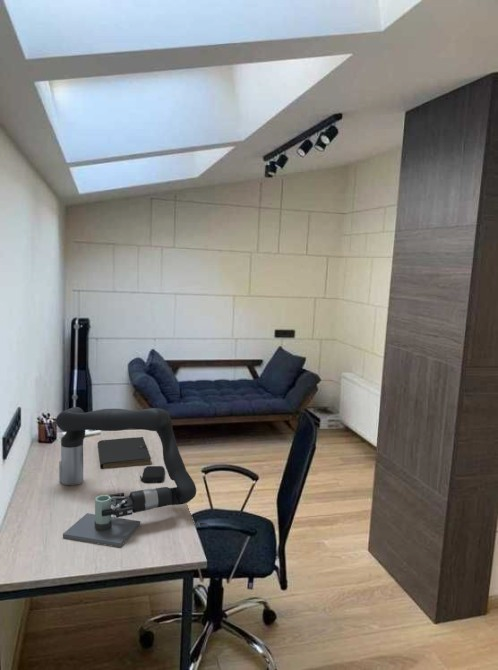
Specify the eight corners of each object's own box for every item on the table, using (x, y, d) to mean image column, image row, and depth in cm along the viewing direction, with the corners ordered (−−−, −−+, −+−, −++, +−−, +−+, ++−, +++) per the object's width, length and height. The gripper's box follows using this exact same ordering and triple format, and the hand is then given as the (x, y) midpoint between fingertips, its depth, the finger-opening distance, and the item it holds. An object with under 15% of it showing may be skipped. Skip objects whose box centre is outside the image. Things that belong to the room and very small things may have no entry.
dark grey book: (151, 457, 245) (100, 462, 237) (151, 465, 246) (100, 470, 238) (143, 436, 276) (97, 440, 268) (143, 443, 277) (97, 447, 269)
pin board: (62, 537, 176) (62, 522, 175) (87, 516, 191) (87, 502, 191) (120, 547, 171) (120, 531, 171) (140, 525, 187) (140, 509, 186)
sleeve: (92, 529, 179) (92, 500, 178) (100, 522, 185) (100, 494, 183) (106, 532, 178) (106, 502, 177) (113, 524, 183) (113, 496, 182)
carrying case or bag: (142, 471, 238) (139, 484, 223) (142, 465, 238) (139, 477, 223) (164, 470, 239) (163, 483, 225) (165, 464, 239) (163, 477, 224)
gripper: (138, 483, 193) (95, 490, 185) (149, 498, 180) (103, 506, 173) (138, 501, 194) (95, 509, 186) (149, 518, 181) (103, 527, 174)
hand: (99, 508), depth 180 cm, fingers open, 8 cm apart
